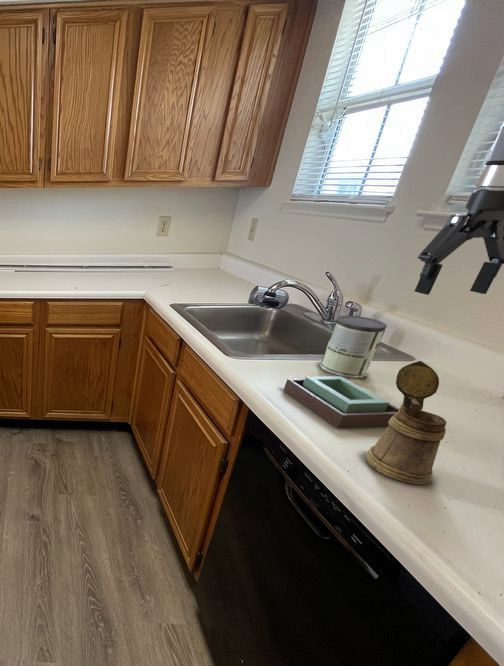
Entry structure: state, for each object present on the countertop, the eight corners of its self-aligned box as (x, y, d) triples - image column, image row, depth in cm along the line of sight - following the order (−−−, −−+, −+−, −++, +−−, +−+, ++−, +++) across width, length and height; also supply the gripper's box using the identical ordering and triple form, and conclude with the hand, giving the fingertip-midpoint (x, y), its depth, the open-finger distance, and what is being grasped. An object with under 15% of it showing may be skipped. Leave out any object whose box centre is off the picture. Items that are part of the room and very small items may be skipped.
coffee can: (316, 360, 121) (333, 313, 114) (359, 366, 117) (379, 318, 111) (323, 373, 112) (342, 324, 106) (370, 381, 108) (393, 330, 102)
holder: (401, 425, 89) (407, 413, 88) (337, 427, 88) (342, 415, 87) (338, 388, 104) (343, 377, 103) (283, 390, 103) (287, 378, 102)
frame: (381, 418, 91) (389, 402, 89) (342, 419, 90) (349, 403, 88) (334, 390, 102) (340, 375, 100) (300, 391, 102) (305, 376, 100)
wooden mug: (408, 447, 82) (452, 364, 74) (438, 490, 71) (494, 398, 63) (353, 436, 85) (389, 356, 77) (374, 475, 74) (419, 386, 66)
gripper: (533, 189, 88) (482, 288, 97) (424, 188, 87) (382, 289, 96) (580, 190, 81) (520, 296, 91) (462, 189, 80) (413, 297, 89)
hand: (449, 292), depth 93 cm, fingers open, 13 cm apart
